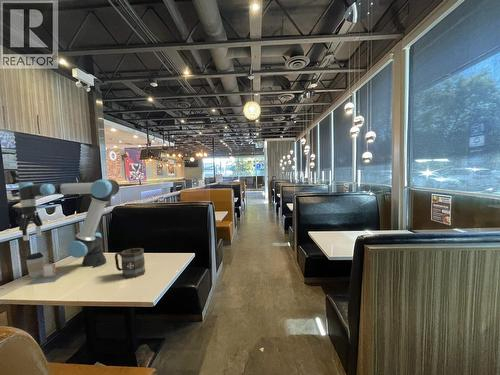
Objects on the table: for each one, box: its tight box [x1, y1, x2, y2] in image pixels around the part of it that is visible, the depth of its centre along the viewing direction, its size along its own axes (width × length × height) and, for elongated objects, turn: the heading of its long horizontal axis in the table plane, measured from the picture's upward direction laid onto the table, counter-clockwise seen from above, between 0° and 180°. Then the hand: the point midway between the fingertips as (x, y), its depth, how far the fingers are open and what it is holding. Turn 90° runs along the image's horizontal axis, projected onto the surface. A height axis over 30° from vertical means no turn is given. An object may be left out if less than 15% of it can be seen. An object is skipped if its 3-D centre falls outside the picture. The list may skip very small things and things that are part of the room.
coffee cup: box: [25, 251, 45, 278], centre depth 170 cm, size 9×9×15 cm
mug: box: [114, 247, 146, 279], centre depth 165 cm, size 20×14×15 cm
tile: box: [42, 263, 57, 278], centre depth 165 cm, size 6×2×8 cm, turn 100°
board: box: [24, 272, 69, 286], centre depth 162 cm, size 16×16×1 cm
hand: (33, 237), depth 172 cm, fingers open, 13 cm apart
